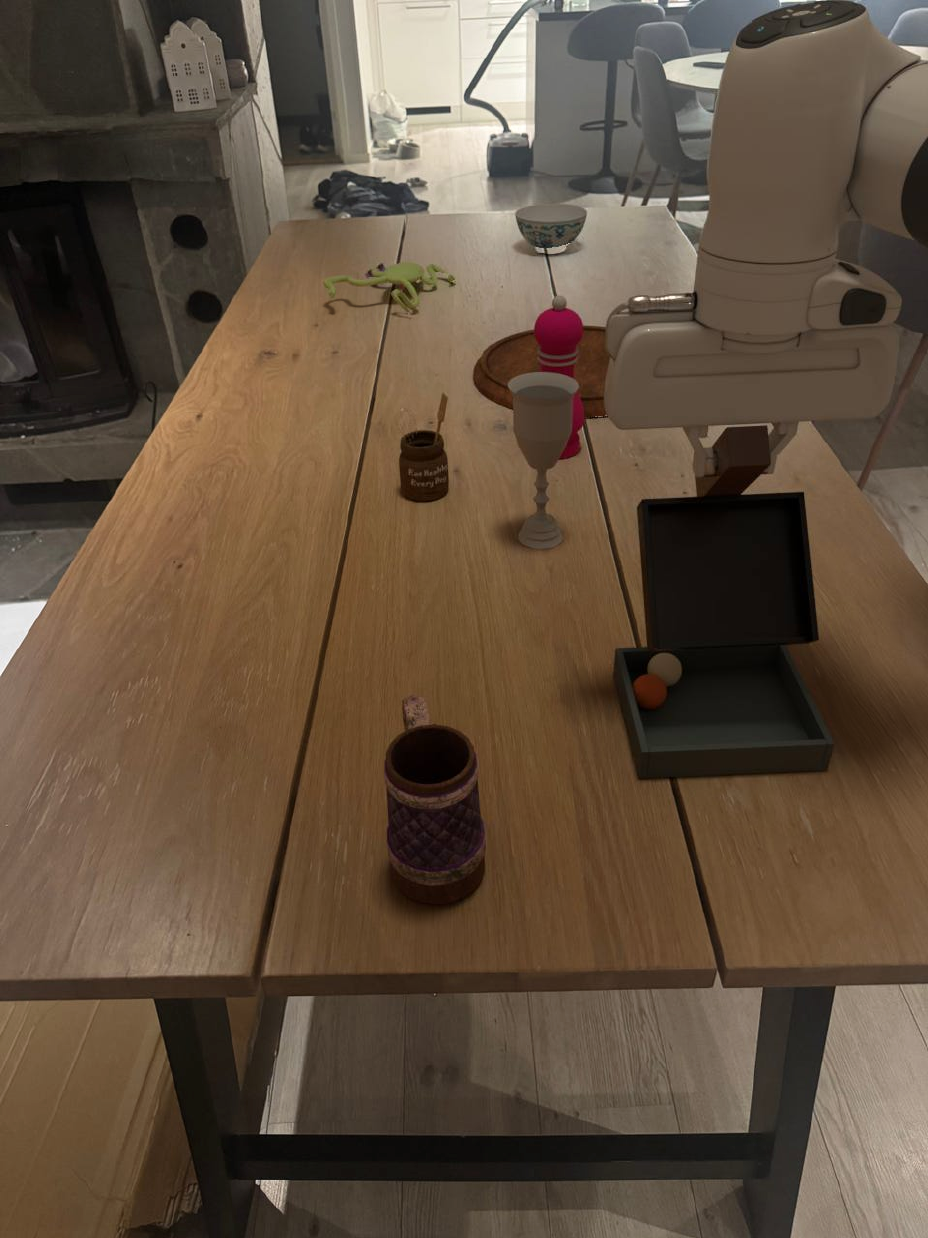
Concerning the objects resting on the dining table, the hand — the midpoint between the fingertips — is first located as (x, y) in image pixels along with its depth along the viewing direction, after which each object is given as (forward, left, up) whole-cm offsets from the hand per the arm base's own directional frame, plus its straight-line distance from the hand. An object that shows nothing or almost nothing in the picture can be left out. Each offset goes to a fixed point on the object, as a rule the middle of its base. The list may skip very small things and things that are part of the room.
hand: (732, 472), depth 71 cm
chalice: (+12, -26, -21) cm, 36 cm away
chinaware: (-1, -143, -21) cm, 144 cm away
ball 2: (+6, +3, -19) cm, 20 cm away
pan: (0, 0, -8) cm, 8 cm away
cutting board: (+2, -73, -21) cm, 76 cm away
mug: (+24, +18, -21) cm, 37 cm away
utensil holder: (+25, -38, -21) cm, 50 cm away
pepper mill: (+8, -48, -21) cm, 53 cm away
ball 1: (+4, +1, -19) cm, 19 cm away
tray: (0, +5, -21) cm, 22 cm away
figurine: (+32, -115, -21) cm, 121 cm away
